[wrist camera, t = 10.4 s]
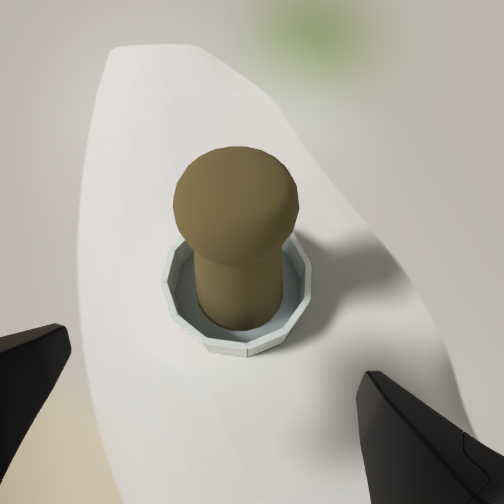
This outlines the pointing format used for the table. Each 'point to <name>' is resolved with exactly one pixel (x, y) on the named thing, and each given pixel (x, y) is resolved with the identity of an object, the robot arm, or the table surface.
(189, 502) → the table surface
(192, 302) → the bowl
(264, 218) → the cork
